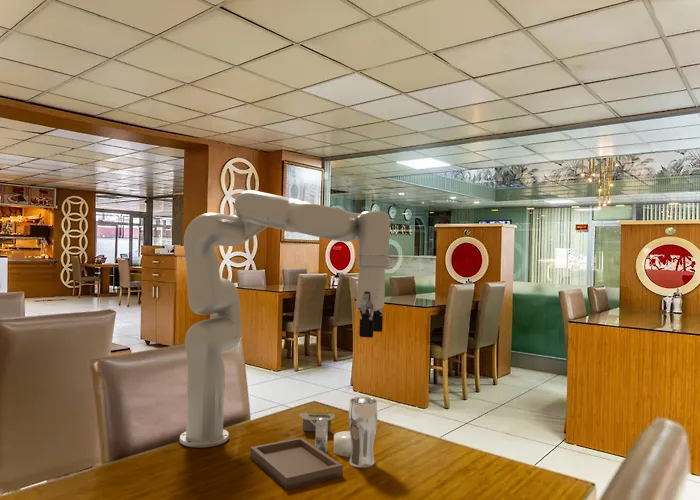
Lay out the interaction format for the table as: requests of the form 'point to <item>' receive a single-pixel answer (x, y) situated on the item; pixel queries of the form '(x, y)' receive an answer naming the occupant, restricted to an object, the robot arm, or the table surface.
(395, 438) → the table surface
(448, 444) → the table surface
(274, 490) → the table surface
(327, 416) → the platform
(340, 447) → the white rounded cylinder
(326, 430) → the salt shaker
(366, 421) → the silver metal tumbler
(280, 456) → the tray
